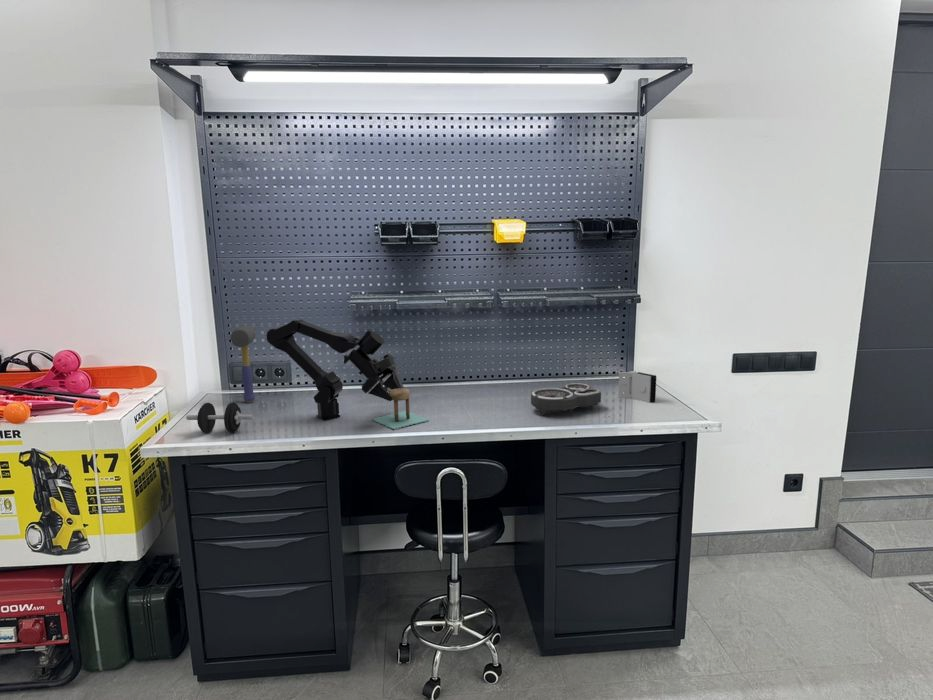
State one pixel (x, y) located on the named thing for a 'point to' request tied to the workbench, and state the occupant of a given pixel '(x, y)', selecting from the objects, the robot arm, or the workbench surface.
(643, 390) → the hinge
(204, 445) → the workbench surface
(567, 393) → the motorcycle dashboard
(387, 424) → the rubber mat
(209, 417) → the dumbbell
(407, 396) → the walnut stool
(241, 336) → the rubber mallet
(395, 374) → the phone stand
